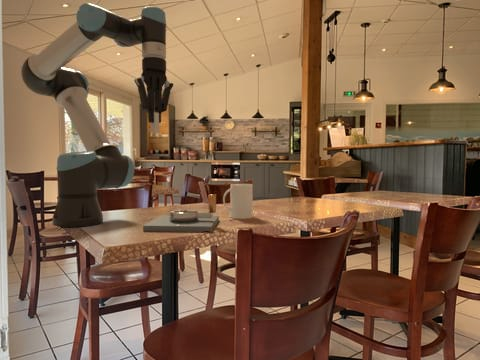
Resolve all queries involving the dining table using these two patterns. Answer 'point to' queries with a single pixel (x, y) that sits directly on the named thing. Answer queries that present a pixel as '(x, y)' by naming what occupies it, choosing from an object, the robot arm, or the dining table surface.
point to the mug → (240, 201)
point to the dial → (194, 212)
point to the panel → (181, 224)
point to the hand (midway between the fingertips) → (154, 133)
